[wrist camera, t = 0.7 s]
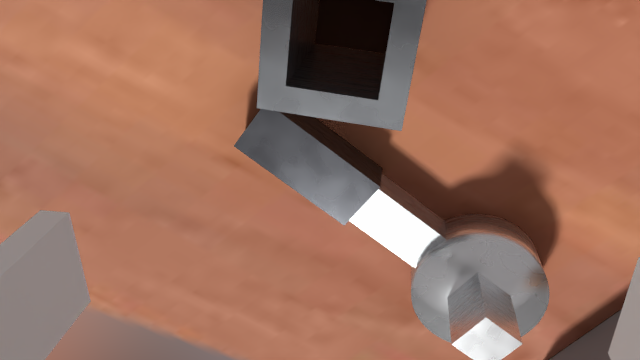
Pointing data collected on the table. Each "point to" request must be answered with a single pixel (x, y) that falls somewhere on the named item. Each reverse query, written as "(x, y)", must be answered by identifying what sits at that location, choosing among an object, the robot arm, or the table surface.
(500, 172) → the table surface
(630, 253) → the table surface
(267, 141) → the ratchet
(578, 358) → the bar
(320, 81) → the socket
